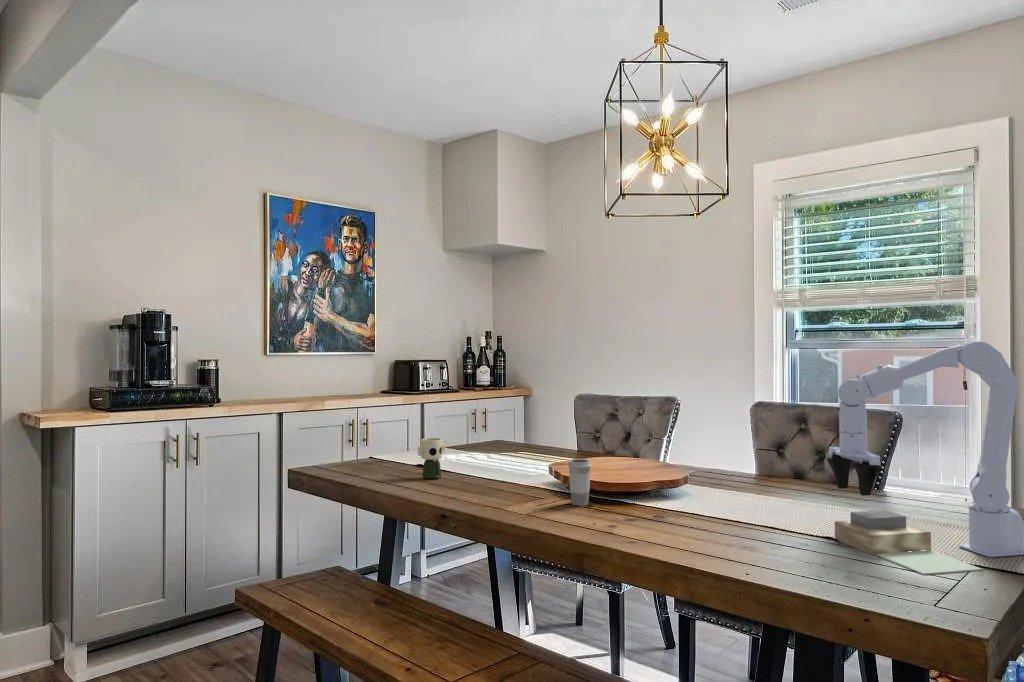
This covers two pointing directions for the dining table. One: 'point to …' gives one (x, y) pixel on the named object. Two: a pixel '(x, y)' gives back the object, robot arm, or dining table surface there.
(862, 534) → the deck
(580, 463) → the cup
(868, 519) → the slate tile
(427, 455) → the character mug
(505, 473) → the dining table surface
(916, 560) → the mat
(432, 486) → the dining table surface
